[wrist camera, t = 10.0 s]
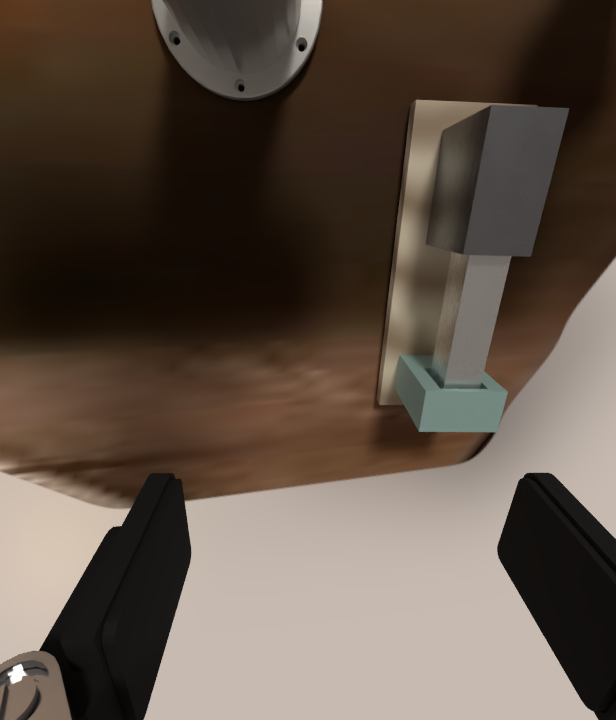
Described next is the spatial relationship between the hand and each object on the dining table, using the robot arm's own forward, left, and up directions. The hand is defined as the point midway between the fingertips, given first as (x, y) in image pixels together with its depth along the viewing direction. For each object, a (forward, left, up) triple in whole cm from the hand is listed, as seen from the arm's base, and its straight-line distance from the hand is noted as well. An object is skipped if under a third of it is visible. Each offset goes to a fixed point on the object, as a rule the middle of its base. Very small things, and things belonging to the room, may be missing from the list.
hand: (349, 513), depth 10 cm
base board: (-2, +13, -28) cm, 31 cm away
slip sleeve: (-9, +13, -27) cm, 31 cm away
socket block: (+8, +13, -27) cm, 31 cm away
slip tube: (-1, +13, -23) cm, 26 cm away
